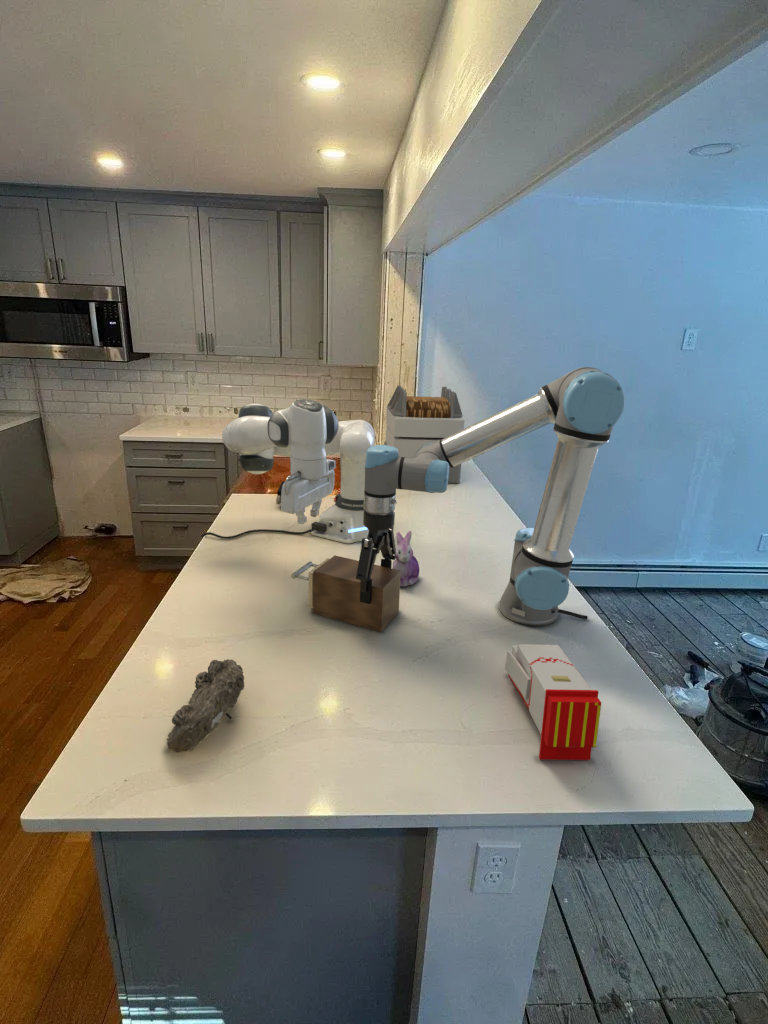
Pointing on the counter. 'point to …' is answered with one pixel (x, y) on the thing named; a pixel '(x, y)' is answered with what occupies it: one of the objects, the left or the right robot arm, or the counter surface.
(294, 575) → the drawer
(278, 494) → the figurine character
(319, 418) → the left robot arm
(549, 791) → the counter surface
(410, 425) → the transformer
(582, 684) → the toy
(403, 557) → the figurine
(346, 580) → the cabinet
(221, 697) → the fossil
